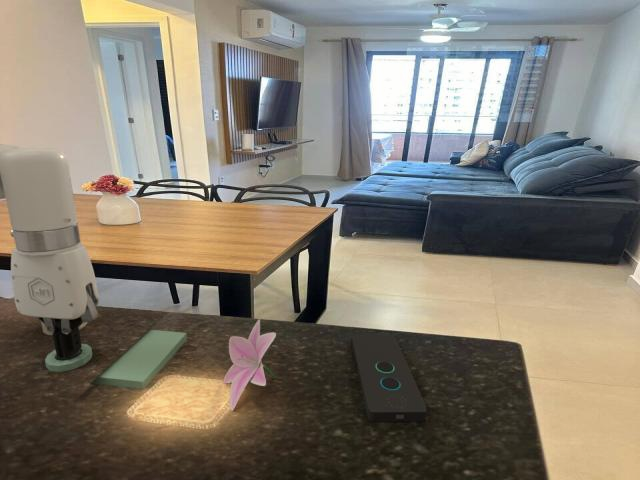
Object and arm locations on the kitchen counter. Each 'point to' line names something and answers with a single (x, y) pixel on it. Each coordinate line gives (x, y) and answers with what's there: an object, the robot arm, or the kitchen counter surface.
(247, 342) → the lily
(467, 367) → the kitchen counter surface
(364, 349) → the smart home device
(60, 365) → the mint green pieces
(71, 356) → the dark grey puck
